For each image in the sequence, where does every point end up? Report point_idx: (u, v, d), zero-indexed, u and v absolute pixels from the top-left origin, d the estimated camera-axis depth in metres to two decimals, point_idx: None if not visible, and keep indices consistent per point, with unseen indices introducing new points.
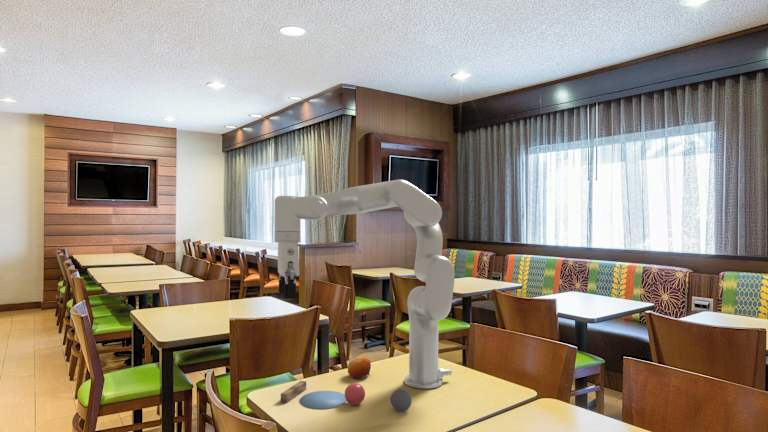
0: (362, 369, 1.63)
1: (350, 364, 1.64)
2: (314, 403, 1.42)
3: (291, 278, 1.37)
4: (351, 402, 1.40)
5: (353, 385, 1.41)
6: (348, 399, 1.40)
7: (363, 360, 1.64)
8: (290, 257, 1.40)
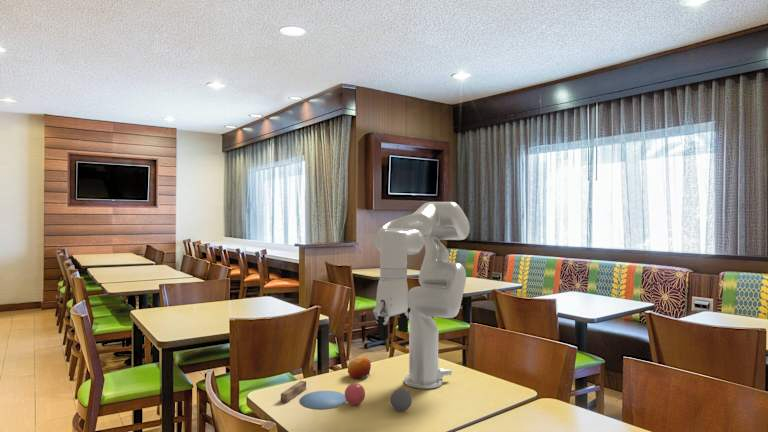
0: (362, 369, 1.63)
1: (350, 364, 1.64)
2: (314, 403, 1.42)
3: None
4: (351, 402, 1.40)
5: (353, 385, 1.41)
6: (348, 399, 1.40)
7: (363, 360, 1.64)
8: None
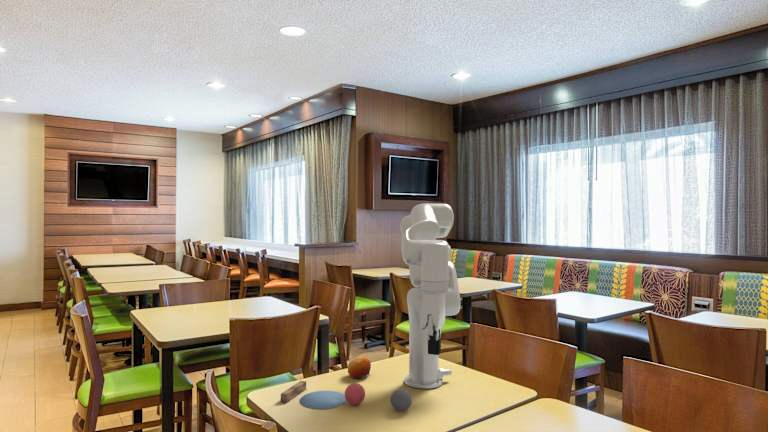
0: (362, 369, 1.63)
1: (350, 364, 1.64)
2: (314, 403, 1.42)
3: None
4: (351, 402, 1.40)
5: (353, 385, 1.41)
6: (348, 399, 1.40)
7: (363, 360, 1.64)
8: None
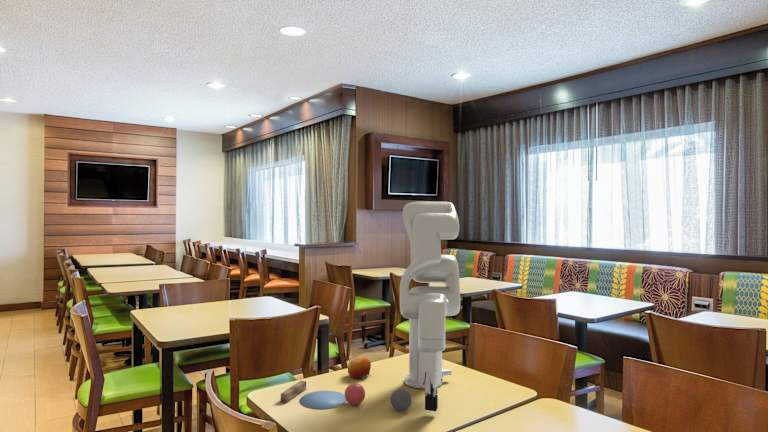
0: (362, 369, 1.63)
1: (350, 364, 1.64)
2: (314, 403, 1.42)
3: None
4: (351, 402, 1.40)
5: (353, 385, 1.41)
6: (348, 399, 1.40)
7: (363, 360, 1.64)
8: None
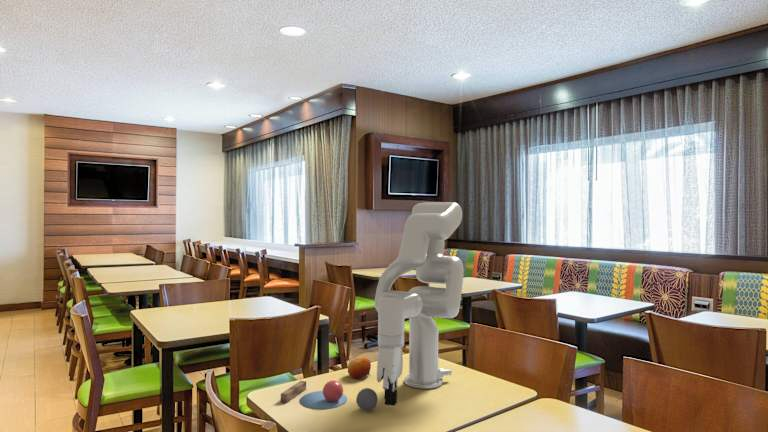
0: (362, 369, 1.63)
1: (350, 364, 1.64)
2: (314, 403, 1.42)
3: None
4: (333, 391, 1.41)
5: None
6: (332, 395, 1.41)
7: (363, 360, 1.64)
8: None
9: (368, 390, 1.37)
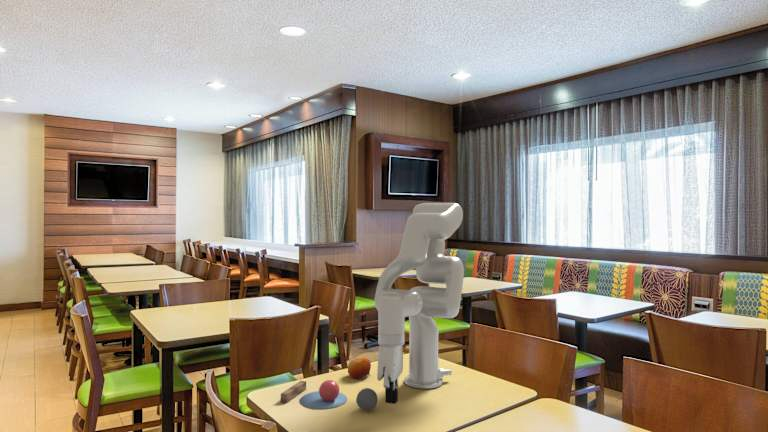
0: (362, 369, 1.63)
1: (350, 364, 1.64)
2: (314, 403, 1.42)
3: None
4: (328, 389, 1.42)
5: None
6: (328, 393, 1.41)
7: (363, 360, 1.64)
8: None
9: (368, 390, 1.37)
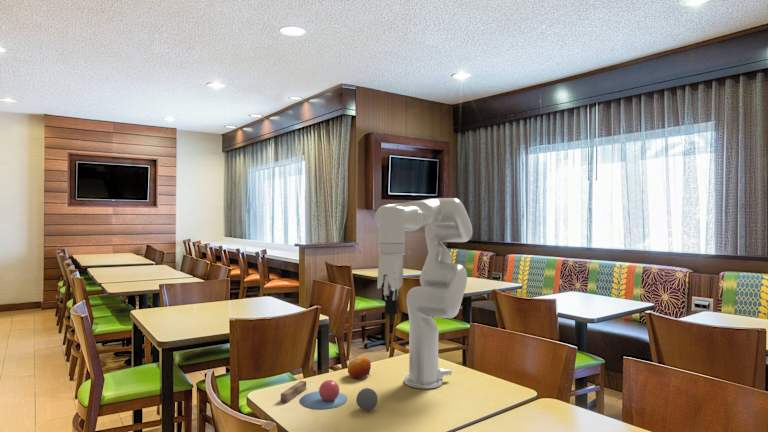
0: (362, 369, 1.63)
1: (350, 364, 1.64)
2: (314, 403, 1.42)
3: None
4: (328, 389, 1.42)
5: None
6: (328, 393, 1.41)
7: (363, 360, 1.64)
8: None
9: (368, 390, 1.37)
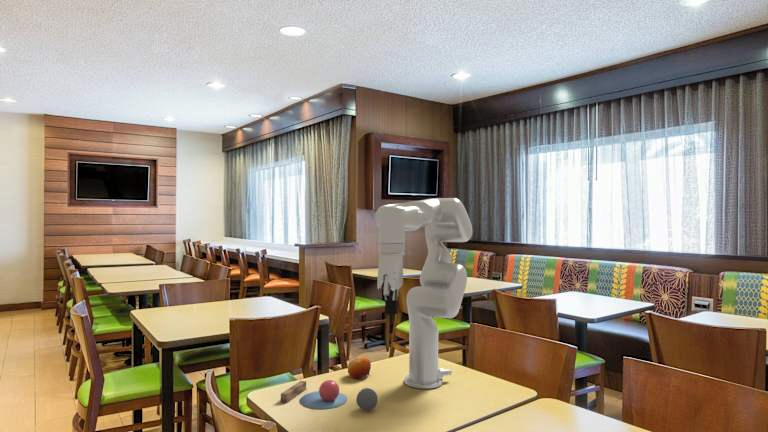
0: (362, 369, 1.63)
1: (350, 364, 1.64)
2: (314, 403, 1.42)
3: None
4: (328, 389, 1.42)
5: None
6: (328, 393, 1.41)
7: (363, 360, 1.64)
8: None
9: (368, 390, 1.37)
